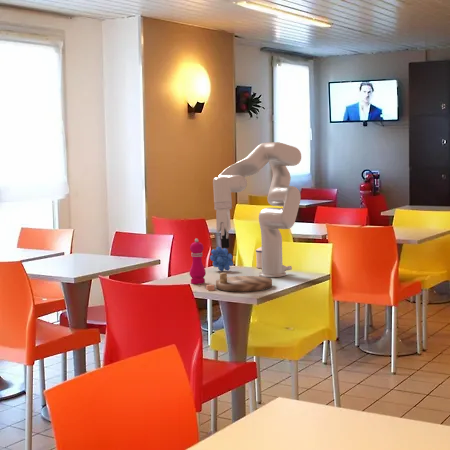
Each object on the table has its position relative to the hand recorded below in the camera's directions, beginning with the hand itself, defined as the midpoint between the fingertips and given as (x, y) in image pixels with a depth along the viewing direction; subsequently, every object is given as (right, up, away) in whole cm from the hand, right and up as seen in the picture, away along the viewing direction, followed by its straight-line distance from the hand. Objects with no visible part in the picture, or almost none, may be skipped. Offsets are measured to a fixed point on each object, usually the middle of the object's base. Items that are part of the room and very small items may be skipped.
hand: (225, 247), depth 344 cm
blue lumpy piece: (-2, -13, +43) cm, 45 cm away
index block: (-6, -18, -7) cm, 20 cm away
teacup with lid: (+20, -11, +52) cm, 57 cm away
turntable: (+8, -17, -3) cm, 19 cm away
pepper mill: (-12, -16, +12) cm, 23 cm away
